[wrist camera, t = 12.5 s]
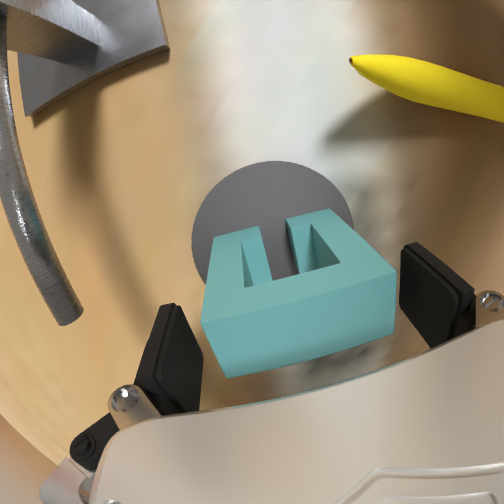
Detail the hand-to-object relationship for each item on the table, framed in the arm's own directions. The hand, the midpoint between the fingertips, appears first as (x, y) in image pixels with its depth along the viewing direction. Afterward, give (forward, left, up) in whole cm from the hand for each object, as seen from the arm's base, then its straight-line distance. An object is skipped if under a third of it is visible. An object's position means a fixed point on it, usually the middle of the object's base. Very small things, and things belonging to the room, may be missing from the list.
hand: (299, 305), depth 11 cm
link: (0, 0, -7) cm, 7 cm away
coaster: (0, 0, -7) cm, 7 cm away
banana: (-14, -8, -7) cm, 18 cm away
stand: (+8, -12, -7) cm, 16 cm away
